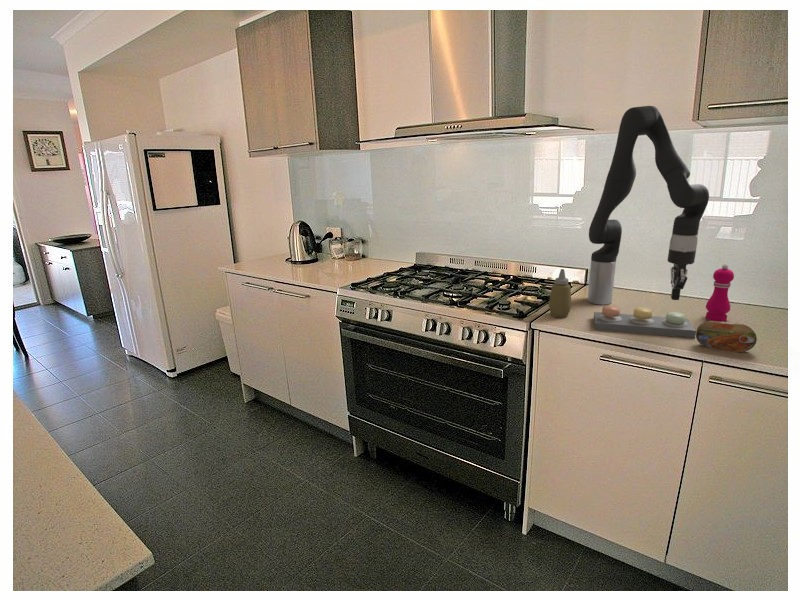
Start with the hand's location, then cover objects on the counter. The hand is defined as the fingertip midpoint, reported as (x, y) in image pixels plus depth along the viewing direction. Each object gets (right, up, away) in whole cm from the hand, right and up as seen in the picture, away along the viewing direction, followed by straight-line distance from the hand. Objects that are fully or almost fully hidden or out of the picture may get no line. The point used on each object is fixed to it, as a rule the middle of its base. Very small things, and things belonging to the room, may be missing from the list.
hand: (674, 299), depth 153 cm
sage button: (+1, -8, +2) cm, 8 cm away
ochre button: (-8, -6, +5) cm, 11 cm away
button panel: (-8, -10, +6) cm, 14 cm away
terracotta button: (-18, -5, +8) cm, 20 cm away
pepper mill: (+22, -7, +12) cm, 26 cm away
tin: (+7, -15, -13) cm, 21 cm away
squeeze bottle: (-32, -6, +21) cm, 38 cm away
